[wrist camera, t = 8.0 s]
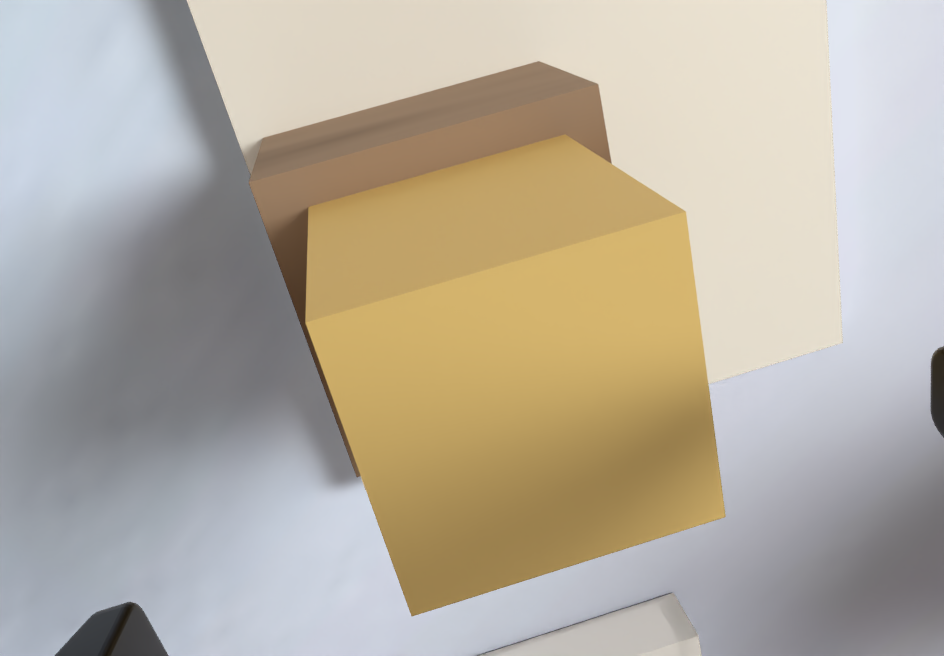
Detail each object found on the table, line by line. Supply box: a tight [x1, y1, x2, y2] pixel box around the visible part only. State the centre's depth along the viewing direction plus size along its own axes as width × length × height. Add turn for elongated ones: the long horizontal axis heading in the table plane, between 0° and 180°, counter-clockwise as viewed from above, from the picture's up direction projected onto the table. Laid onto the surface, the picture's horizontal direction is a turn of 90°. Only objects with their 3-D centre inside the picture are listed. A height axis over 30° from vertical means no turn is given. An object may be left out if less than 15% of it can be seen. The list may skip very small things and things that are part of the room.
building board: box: [187, 0, 843, 490], centre depth 18 cm, size 15×13×1 cm
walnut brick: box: [249, 61, 612, 477], centre depth 17 cm, size 6×6×4 cm
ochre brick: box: [305, 135, 726, 616], centre depth 12 cm, size 4×4×5 cm
